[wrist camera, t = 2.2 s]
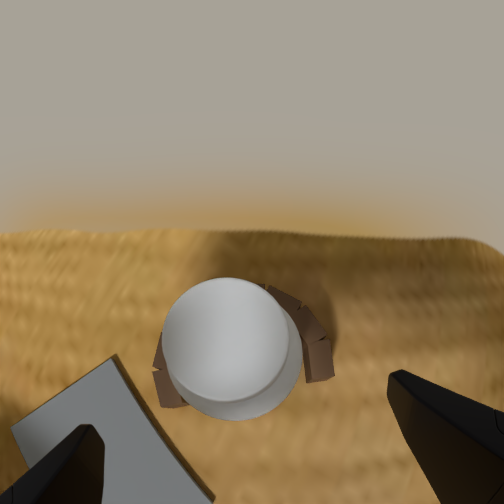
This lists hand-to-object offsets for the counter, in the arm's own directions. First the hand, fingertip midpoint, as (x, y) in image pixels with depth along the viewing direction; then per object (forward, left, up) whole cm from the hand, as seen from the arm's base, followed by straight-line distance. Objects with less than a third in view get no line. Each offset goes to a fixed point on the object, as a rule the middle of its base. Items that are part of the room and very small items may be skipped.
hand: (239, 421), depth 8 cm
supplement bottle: (+2, -1, -10) cm, 10 cm away
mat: (+2, +11, -10) cm, 15 cm away
